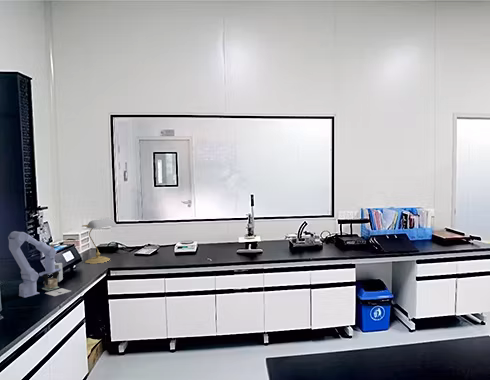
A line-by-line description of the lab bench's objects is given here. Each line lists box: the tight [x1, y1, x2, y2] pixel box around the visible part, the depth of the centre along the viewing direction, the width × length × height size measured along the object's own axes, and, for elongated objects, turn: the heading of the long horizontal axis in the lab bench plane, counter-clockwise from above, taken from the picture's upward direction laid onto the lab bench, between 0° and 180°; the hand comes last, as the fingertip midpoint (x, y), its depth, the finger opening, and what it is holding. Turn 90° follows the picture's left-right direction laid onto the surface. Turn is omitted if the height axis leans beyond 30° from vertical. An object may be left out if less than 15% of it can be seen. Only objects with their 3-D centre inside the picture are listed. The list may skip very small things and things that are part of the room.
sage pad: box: [41, 285, 60, 292], centre depth 239 cm, size 8×8×1 cm
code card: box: [44, 288, 72, 297], centre depth 230 cm, size 12×12×1 cm
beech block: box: [44, 278, 58, 288], centre depth 238 cm, size 5×7×5 cm
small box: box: [51, 262, 64, 283], centre depth 256 cm, size 8×6×13 cm
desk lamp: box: [82, 217, 117, 265], centre depth 318 cm, size 31×23×40 cm
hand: (50, 283), depth 238 cm, fingers closed on beech block, 5 cm apart
